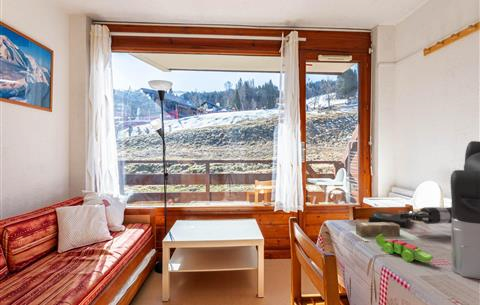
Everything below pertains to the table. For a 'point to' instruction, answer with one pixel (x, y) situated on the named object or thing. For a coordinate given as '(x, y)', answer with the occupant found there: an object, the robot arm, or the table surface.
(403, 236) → the sage mat
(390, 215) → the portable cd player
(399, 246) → the toy crocodile
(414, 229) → the table surface
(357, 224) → the walnut block
